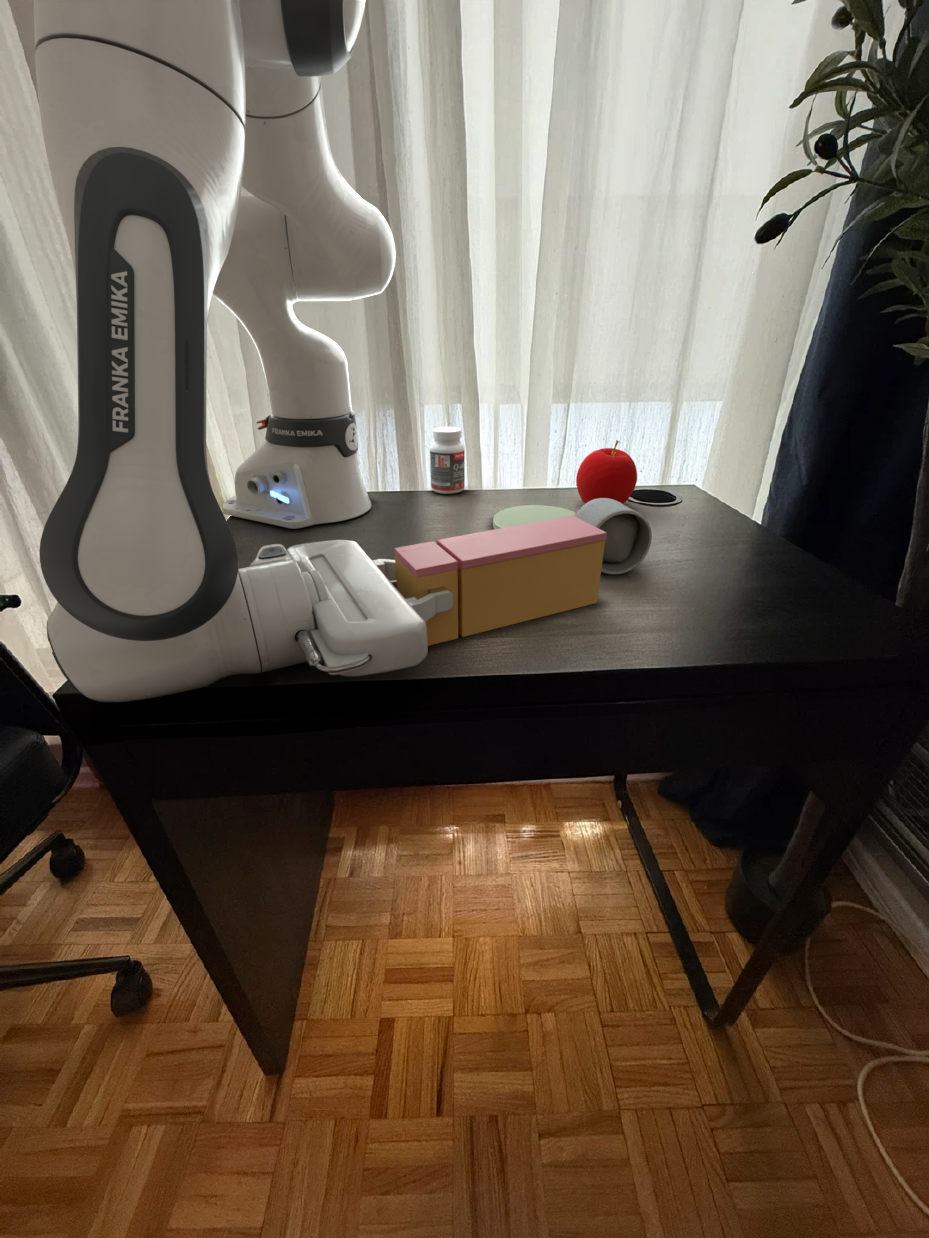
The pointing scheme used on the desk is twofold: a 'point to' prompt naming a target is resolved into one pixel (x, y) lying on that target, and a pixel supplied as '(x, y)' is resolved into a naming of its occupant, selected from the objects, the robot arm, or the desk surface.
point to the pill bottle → (447, 461)
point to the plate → (528, 515)
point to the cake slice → (429, 584)
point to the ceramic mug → (618, 533)
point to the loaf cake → (525, 572)
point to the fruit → (606, 475)
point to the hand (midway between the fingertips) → (434, 582)
